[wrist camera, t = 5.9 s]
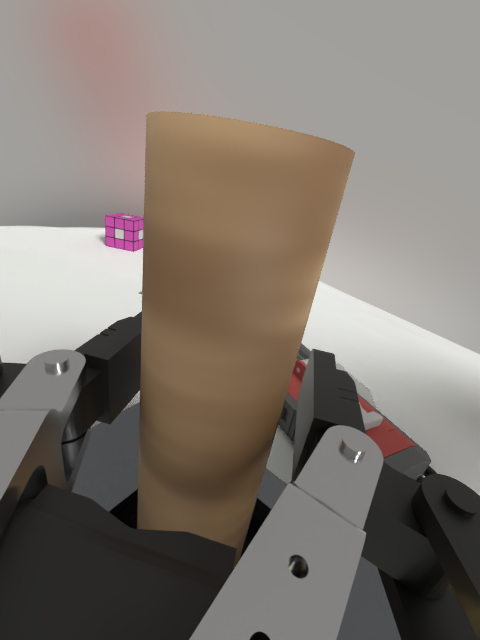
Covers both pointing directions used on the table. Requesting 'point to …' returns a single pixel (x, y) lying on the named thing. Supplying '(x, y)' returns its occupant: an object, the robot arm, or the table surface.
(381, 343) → the table surface
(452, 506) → the robot arm
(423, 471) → the walkie-talkie
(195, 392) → the walnut peg
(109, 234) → the puzzle toy
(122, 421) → the socket rail
